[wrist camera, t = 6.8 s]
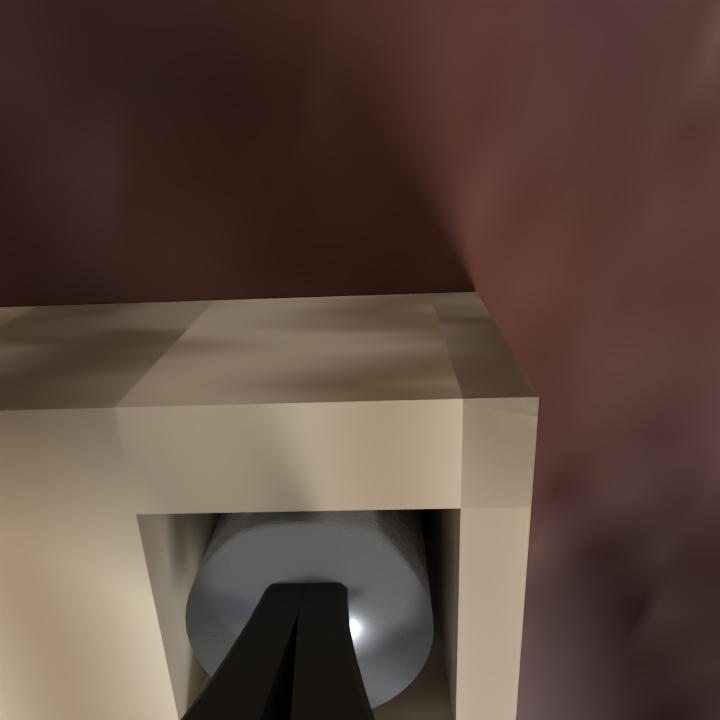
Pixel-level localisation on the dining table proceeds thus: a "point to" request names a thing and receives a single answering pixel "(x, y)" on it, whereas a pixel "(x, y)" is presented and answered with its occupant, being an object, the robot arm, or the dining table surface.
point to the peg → (322, 565)
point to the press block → (250, 482)
